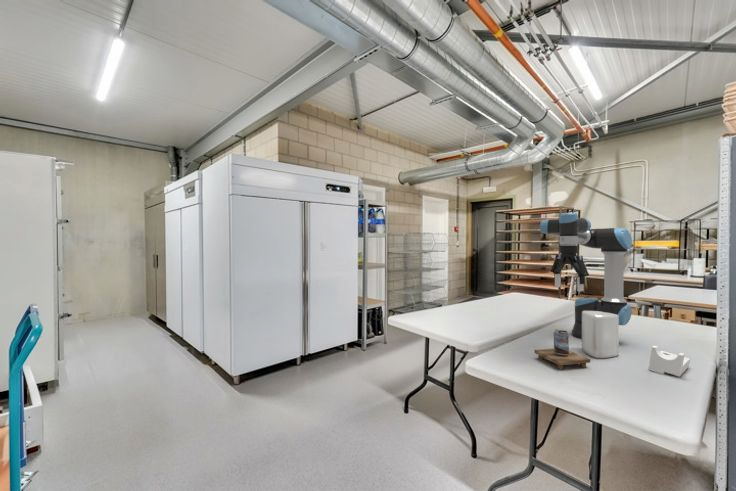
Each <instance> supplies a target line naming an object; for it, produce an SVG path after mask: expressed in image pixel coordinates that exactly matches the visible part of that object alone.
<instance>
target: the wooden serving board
mask: <svg viewBox="0 0 736 491" xmlns="http://www.w3.org/2000/svg"><path fill="white" fill-rule="evenodd" d="M534 354H535V355H537V356H538V360H539V359H540V361H545V359H546V360H548V361H550V362H552V363H554V364H556V369H557V370H560V371H561V370H563V371H564V366H568V365H577V364H578V365H579V367H580V368H584V369H585V368H587V364H588V363H589V364H590V363H591V359H590V358H588V357H586V356H584V355H581V354H580V353H579V354H578V353H576V352H574V351H572V350H570V349H569V354H567V355H559V354H556V353H555V352H554V347H552V348H542V349H540V348H539V349H534Z"/></svg>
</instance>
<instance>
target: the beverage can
mask: <svg viewBox="0 0 736 491" xmlns="http://www.w3.org/2000/svg"><path fill="white" fill-rule="evenodd" d="M569 345H570V343H569V332H568V331H567V329H563V328H554V330H553V348H554V352H555V353H556V354H559V355H567V354H569V350H570V348H569V347H570V346H569Z"/></svg>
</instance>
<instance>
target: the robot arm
mask: <svg viewBox="0 0 736 491" xmlns="http://www.w3.org/2000/svg"><path fill="white" fill-rule="evenodd" d="M539 231H540V233H542V234H543V235H544V234H545V235H548V234H550V235H555V236H558V237H559V247H558V248H559V253H560V254H555V258H554V261H553V263H552V266H551V268H550V269H551V270H550V272H551V273H553V277H554V278H553V279H554V287H555V288H561V287H562V284H561V283H562V281H561V280H562V276H561V275H562V274H561V272H562V270H563V268H564V267H565V266H566V265H569V266H572V268H573V270H574V271H575V272H576V273H575V274H577V275H578V276H577V277H576V282H577V283H576V285H577V286H576V288H577V289H576V292H584V290H585V289H584V288H585V283H586V281H585V280H586V279H585V277H588V276H589V277H590V274H589V271H588V269H587V266H586V265H585V262H584V256H583V255H577V254H578V251H579V247H578V245H579V246H583V247H585V248H590V249H600V253H602V254H603V255H604V258H603V260H604V261H603V265H604V268H603V270H604V271H603V272H604V274H603V276H604V277H603V280H604V281H603V282H604V283H603V287H604V288H603V289H604V290H603V297H602V298H600V300H599V298H597V297H579V298H576V299H575V301H574V324H573V327H572V329H571V336H573V338H577V339H581V340H582V311H601V312H607V313H612V314H617V315H619V326H626V325H627V324H629V322H630V320H631V317H632V314H633V313H632V312H633V309H632V306H630V305H628V301H627V300H626V298H624V284H625V283H624V280H625V278H624V276H625V275H624V272H625V270H624V264H625V263H624V260H625V259H624V256H625V255H626V254H627V253H628V250H630V249H631V248H632V244H633V238H632V235H631V233H630V231H629V229H627V228H624V227H610V228H609V227H608V228H607V227H605V228H592V223H591V221H590V220H589V219H588V218H585V217H579V216H578V213H577V212H563V213H560V214H559V218H557V219H556V218H555V219H544V220H541V222H540V224H539Z"/></svg>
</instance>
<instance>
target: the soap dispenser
mask: <svg viewBox="0 0 736 491" xmlns="http://www.w3.org/2000/svg"><path fill="white" fill-rule="evenodd" d="M619 326H620V325H619V315H617V314H612V313H607V312H601V311H582V339H581V350H582V351H583V352H585V353H586V354H588V356H591V357H593V358H595V359H609V358H615V357H619V354H620V353H619V352H620V350H619V349H620V346H619V345H620V343H619V341H620V340H619V339H620V336H619V335H620V330H619V329H620V328H619Z"/></svg>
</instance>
